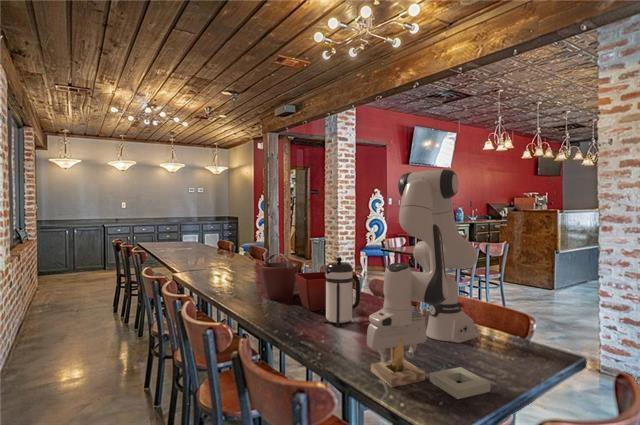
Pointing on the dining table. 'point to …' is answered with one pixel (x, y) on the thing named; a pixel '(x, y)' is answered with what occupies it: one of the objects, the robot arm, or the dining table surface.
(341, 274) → the coffee press
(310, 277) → the plant pot
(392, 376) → the birch mount
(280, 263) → the bucket
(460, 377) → the socket block
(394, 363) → the pin
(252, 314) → the dining table surface
